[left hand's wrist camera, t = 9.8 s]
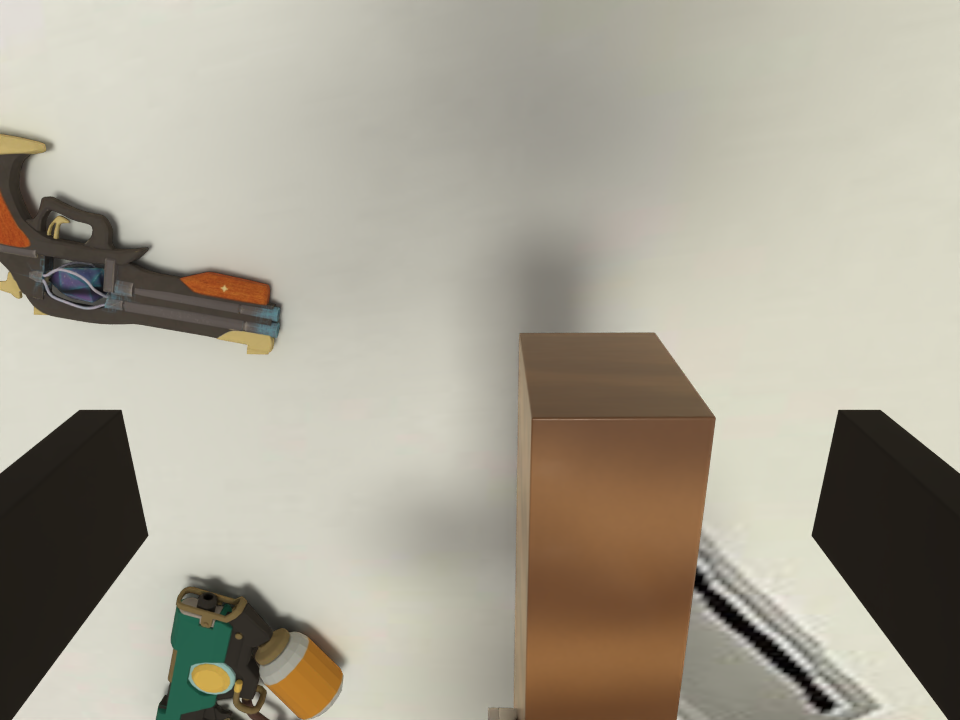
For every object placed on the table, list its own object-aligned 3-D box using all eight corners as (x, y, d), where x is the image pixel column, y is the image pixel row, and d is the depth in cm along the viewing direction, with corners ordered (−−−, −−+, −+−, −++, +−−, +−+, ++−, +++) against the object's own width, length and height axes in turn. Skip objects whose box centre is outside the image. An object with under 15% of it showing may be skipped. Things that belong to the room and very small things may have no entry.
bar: (519, 332, 29) (531, 417, 21) (655, 331, 29) (716, 417, 21) (513, 723, 37) (520, 888, 30) (619, 723, 37) (655, 888, 30)
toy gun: (-76, 120, 36) (-76, 304, 38) (292, 195, 39) (270, 362, 41) (-43, 123, 38) (-45, 296, 41) (300, 193, 41) (278, 351, 44)
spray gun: (283, 768, 58) (119, 688, 55) (382, 651, 52) (204, 555, 49) (265, 819, 54) (88, 736, 51) (370, 699, 48) (176, 598, 45)
